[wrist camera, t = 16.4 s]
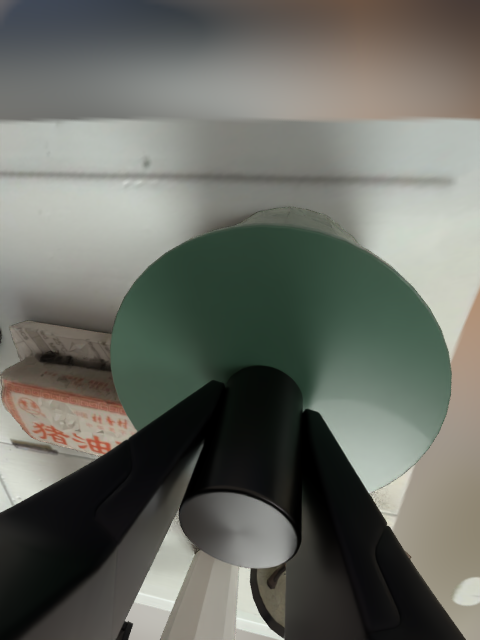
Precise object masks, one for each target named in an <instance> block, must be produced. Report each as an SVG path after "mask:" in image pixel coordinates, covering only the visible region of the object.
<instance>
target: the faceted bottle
mask: <svg viewBox="0 0 480 640" xmlns="http://www.w3.org/2000/svg"><path fill="white" fill-rule="evenodd" d="M238 580H239V566H235V565H231V564H228V563H225V562H222V561H220V560H218V559H215V558H213V557H211V556H210V555H208V554H206V553H205V552H203V551H202V550H199V551H198V552H197V553H196V554H195V556H194V558H193V560H192V563H191V565H190V568H189V570H188V573H187V575H186V577H185V580H184V582H183V585H182V587H181V590H180V592H179V594H178V597H177V599H176V602H175V604H174V607H173V609H172V611H171V614H170V616H169V619H168V621H167V624H166V626H165V629H164V631H163V633H162V636H161V639H160V640H235V630H236V613H237V597H238Z"/></svg>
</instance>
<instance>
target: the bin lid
mask: <svg viewBox="0 0 480 640" xmlns="http://www.w3.org/2000/svg"><path fill="white" fill-rule="evenodd" d="M110 362H111V371H112V376H113V382H114V385H115V388H116V391H117V395H118V398H119V400H120V402H121V404H122V406H123V409H124V411H125V413H126V415H127V416H128V418H129V420H130V421H131V423H132V424H133V426H134V428H135V429H136V430H137V432H138V431H139V430H141V429H142V428H144V427H145V426H146V425H148V424H149V423H151V422H152V421H154V420H155V419H157V418H158V417H159V416H161V415H162V414H164V413H165V412H167V411H168V410H170V409H171V408H172V407H174V406H175V405H177V404H178V403H180V402H181V401H182V400H184V399H185V398H187V397H188V396H190V395H191V394H193V393H194V392H195V391H197V390H198V389H200V388H201V387H203V386H204V385H205V384H207V383H208V382H210V381H211V380H216V381H219V382H223V383H224V384H225V389H224V392H223V395H222V397H221V400H220V403H219V405H218V408H217V410H216V413H215V416H214V418H213V421H212V423H211V426H210V428H209V431H208V434H207V436H206V439H205V441H204V444H203V447H202V449H201V452H200V455H199V457H198V460H197V462H196V465H195V468H194V470H193V473H192V476H191V478H190V481H189V484H188V486H187V489H186V491H185V494H184V497H183V499H182V502H181V505H180V508H179V522H180V525H181V528H182V530H183V532H184V533H185V535H186V536H187V537H188V539H189V540H190V541H191V542H192V543H193V544H194V545H195V546H196V547H198V548H199V549H200V550H202V551H203V552H205V553H206V554H208V555H210V556H211V557H213V558H215V559H218V560H220V561H222V562H225V563H228V564H231V565H235V566H239V567H245V568H255V569H262V568H271V567H276V566H279V565H282V564H284V563H286V562H288V561H289V560H291V559H292V558H293V557H294V556H295V555H296V553H297V552H298V550H299V547H300V545H301V540H302V448H303V411H304V410H305V409H310V410H313V411H317V412H319V413H320V414H321V416H322V418H323V419H324V421H325V422H326V424H327V426H328V427H329V429H330V431H331V432H332V434H333V436H334V437H335V439H336V440H337V442H338V444H339V445H340V447H341V449H342V450H343V452H344V453H345V455H346V457H347V458H348V460H349V462H350V463H351V465H352V467H353V468H354V470H355V471H356V473H357V475H358V476H359V478H360V480H361V481H362V483H363V484H364V486H365V488H366V489H367V491H368V493H369V494H370V493H372V492H374V491H376V490H378V489H380V488H382V487H384V486H386V485H388V484H389V483H391V482H393V481H394V480H396V479H397V478H399V477H400V476H402V475H403V474H404V473H405V472H406V471H408V470H409V469H410V468H411V467H412V466H413V465H415V464H416V463H417V462H418V461H419V459H420V458H421V457H422V456H423V455H424V454H425V452H426V451H427V450H428V449H429V448H430V446H431V444H432V443H433V441H434V440H435V438H436V436H437V435H438V433H439V431H440V429H441V426H442V424H443V421H444V419H445V417H446V414H447V410H448V405H449V401H450V396H451V375H452V373H451V365H450V358H449V352H448V349H447V346H446V342H445V339H444V336H443V333H442V330H441V328H440V326H439V325H438V323H437V321H436V319H435V317H434V315H433V313H432V312H431V310H430V308H429V307H428V305H427V304H426V303H425V302H424V300H423V299H422V298H421V296H420V295H419V294H418V292H417V291H416V290H415V289H414V287H413V286H412V285H411V284H410V283H409V282H407V281H406V280H405V279H404V278H403V277H402V276H401V275H400V274H399V273H398V272H397V271H396V270H395V269H394V268H393V267H392V266H391V265H389V264H388V263H386V262H385V261H383V260H382V259H381V258H379V257H378V256H376V255H375V254H373V253H372V252H370V251H369V250H367V249H365V248H363V247H361V246H359V245H357V244H355V243H353V242H351V241H349V240H347V239H345V238H343V237H340V236H337V235H334V234H331V233H328V232H325V231H322V230H319V229H315V228H310V227H305V226H299V225H294V224H284V223H266V222H263V223H251V224H239V225H234V226H229V227H225V228H221V229H216V230H212V231H210V232H207V233H205V234H202V235H199V236H197V237H194V238H191V239H190V240H188V241H186V242H184V243H182V244H181V245H179V246H177V247H175V248H173V249H172V250H170V251H168V252H166V253H165V254H164V255H162V256H161V257H160V258H159V259H157V260H156V261H155V262H154V263H152V264H151V265H150V266H149V267H148V268H147V269H146V270H145V271H144V272H143V273H142V274H141V275H140V276H139V277H138V279H137V280H136V281H135V282H134V284H133V285H132V287H131V288H130V290H129V291H128V293H127V294H126V296H125V297H124V299H123V301H122V304H121V306H120V308H119V310H118V313H117V315H116V319H115V322H114V326H113V330H112V335H111V345H110Z"/></svg>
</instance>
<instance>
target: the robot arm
mask: <svg viewBox="0 0 480 640" xmlns="http://www.w3.org/2000/svg"><path fill="white" fill-rule="evenodd" d="M224 389H225V384H224V383H223V382H219V381H216V380H211V381H210V382H208V383H207V384H205V385H204V386H203V387H201V388H200V389H198V390H197V391H195V392H194V393H193V394H191V395H190V396H188V397H187V398H185V399H184V400H182V401H181V402H180V403H178V404H177V405H175V406H174V407H172V408H171V409H170V410H168V411H167V412H165V413H164V414H162V415H161V416H159V417H158V418H157V419H155V420H154V421H152V422H151V423H149V424H148V425H146V426H145V427H144V428H142V429H141V430H139V431H138V432H136V433H135V434H134V435H132V436H131V437H129V438H128V440H125V441H123V442H122V443H120V444H119V445H117V446H116V447H115V448H113V449H112V450H110V451H108V452H107V453H105V454H104V455H102V456H101V457H99V458H98V459H96V460H95V461H93V462H91V463H89V464H88V465H86V466H84V467H83V468H81V469H79V470H77V471H76V472H74V473H72V474H71V475H69V476H67V477H65V478H63V479H61V480H60V481H58V482H56V483H54V484H52V485H51V486H49V487H47V488H45V489H43V490H42V491H40V492H38V493H36V494H34V495H33V496H31V497H29V498H27V499H25V500H24V501H22V502H20V503H18V504H16V505H15V506H13V507H11V508H9V509H7V510H5V511H3V512H1V513H0V640H128V638H129V635H130V632H131V629H132V626H133V623H131V622H129V621H128V622H125V619H126V617H127V615H128V613H129V611H130V609H131V606H132V604H133V602H134V600H135V598H136V596H137V594H138V592H139V590H140V588H141V586H142V584H143V582H144V579H145V577H146V575H147V573H148V571H149V569H150V567H151V565H152V563H153V561H154V559H155V556H156V554H157V552H158V550H159V548H160V546H161V544H162V542H163V540H164V538H165V536H166V534H167V531H168V529H169V527H170V525H171V523H172V521H173V519H174V517H175V515H176V513H177V511H178V508H179V506H180V504H181V502H182V499H183V497H184V494H185V491H186V489H187V486H188V484H189V481H190V478H191V476H192V473H193V470H194V468H195V465H196V462H197V460H198V457H199V455H200V452H201V449H202V447H203V444H204V441H205V439H206V436H207V434H208V431H209V428H210V426H211V423H212V421H213V418H214V416H215V413H216V410H217V408H218V405H219V403H220V400H221V397H222V395H223V392H224ZM285 640H466V639H465V638H464V637H463V635H462V634H461V632H460V631H459V629H458V628H457V626H456V625H455V624H454V622H453V621H452V620H451V618H450V617H449V615H448V614H447V612H446V611H445V610H444V608H443V607H442V605H441V604H440V603H439V601H438V600H437V598H436V597H435V596H434V594H433V593H432V591H431V590H430V588H429V587H428V586H427V584H426V582H425V581H424V580H423V578H422V577H421V575H420V574H419V572H418V571H417V569H416V568H415V566H414V565H413V563H412V562H411V560H410V559H409V557H408V555H407V554H406V552H405V551H404V549H403V548H402V546H401V544H400V543H399V541H398V540H397V538H396V536H395V535H394V533H393V532H392V530H391V528H390V527H389V526H387V522H386V520H385V519H384V517H383V515H382V514H381V512H380V511H379V509H378V507H377V506H376V504H375V502H374V501H373V499H372V497H371V496H370V494H369V493H368V491H367V489H366V488H365V486H364V484H363V483H362V481H361V480H360V478H359V476H358V475H357V473H356V471H355V470H354V468H353V467H352V465H351V463H350V462H349V460H348V458H347V457H346V455H345V453H344V452H343V450H342V449H341V447H340V445H339V444H338V442H337V440H336V439H335V437H334V436H333V434H332V432H331V431H330V429H329V427H328V426H327V424H326V422H325V421H324V419H323V418H322V416H321V414H320V413H319V412H317V411H313V410H310V409H305V410H304V411H303V448H302V540H301V545H300V547H299V550H298V552H297V553H296V555H295V556H294V557H293V558H292V559H291V560H289V561H288V562H286V592H285Z"/></svg>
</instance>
